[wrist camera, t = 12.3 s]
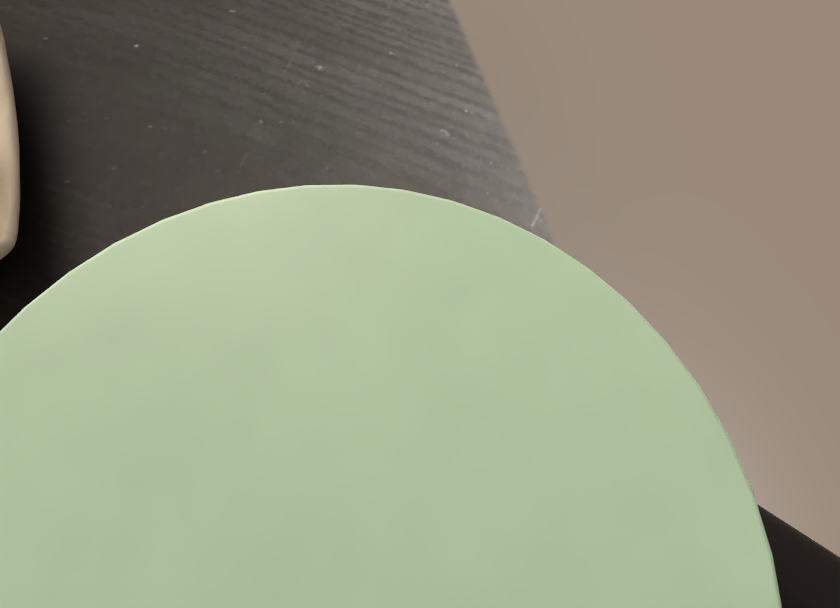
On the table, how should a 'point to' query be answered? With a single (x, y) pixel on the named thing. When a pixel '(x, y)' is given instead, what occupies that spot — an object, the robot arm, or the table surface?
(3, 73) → the figurine
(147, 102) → the table surface
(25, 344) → the pale green cylinder
